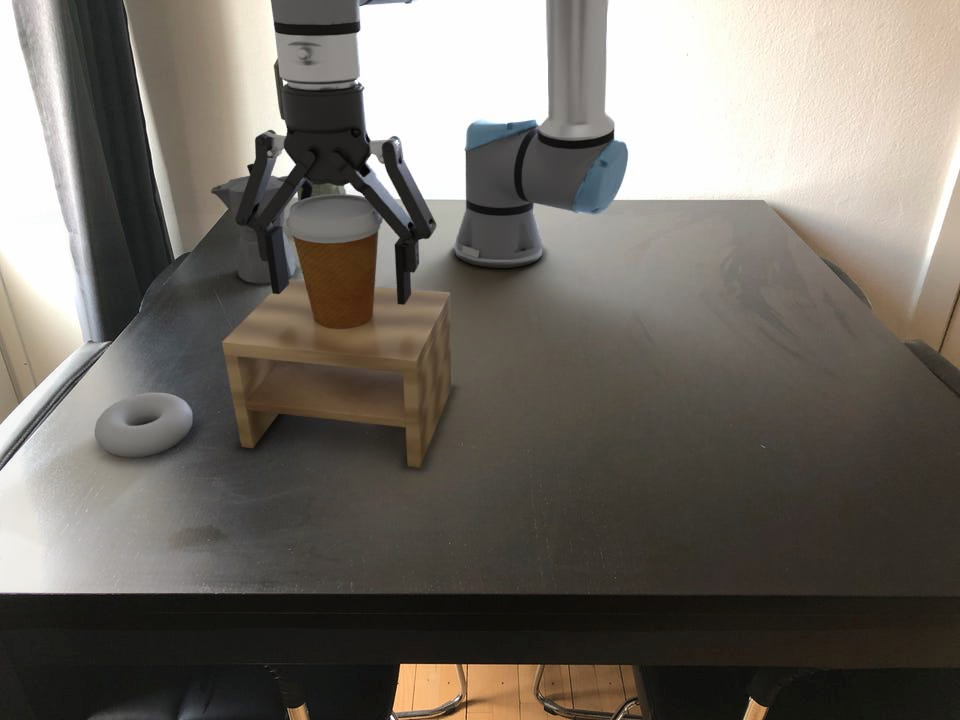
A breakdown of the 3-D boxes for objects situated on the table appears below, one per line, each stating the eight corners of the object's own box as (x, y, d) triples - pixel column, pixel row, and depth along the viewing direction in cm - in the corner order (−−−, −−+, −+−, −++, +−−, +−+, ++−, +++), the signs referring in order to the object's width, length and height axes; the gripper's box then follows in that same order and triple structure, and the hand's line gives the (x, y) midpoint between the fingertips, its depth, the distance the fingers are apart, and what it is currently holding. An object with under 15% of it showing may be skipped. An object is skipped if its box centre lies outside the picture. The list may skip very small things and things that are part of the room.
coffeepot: (229, 290, 116) (210, 176, 107) (222, 268, 123) (204, 160, 114) (327, 276, 121) (316, 166, 112) (315, 255, 128) (304, 151, 120)
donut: (96, 426, 84) (101, 474, 76) (88, 400, 82) (93, 446, 74) (188, 404, 88) (202, 448, 80) (182, 379, 86) (196, 421, 78)
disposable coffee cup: (371, 340, 74) (363, 226, 69) (283, 331, 76) (267, 219, 70) (399, 301, 83) (394, 196, 77) (318, 293, 84) (307, 189, 78)
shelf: (297, 373, 94) (285, 279, 88) (451, 388, 91) (450, 292, 85) (241, 447, 80) (221, 342, 74) (420, 468, 78) (416, 360, 71)
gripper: (174, 83, 66) (214, 299, 77) (447, 95, 63) (450, 319, 73) (214, 70, 73) (246, 271, 83) (464, 80, 69) (464, 288, 80)
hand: (342, 294), depth 78 cm, fingers open, 13 cm apart
